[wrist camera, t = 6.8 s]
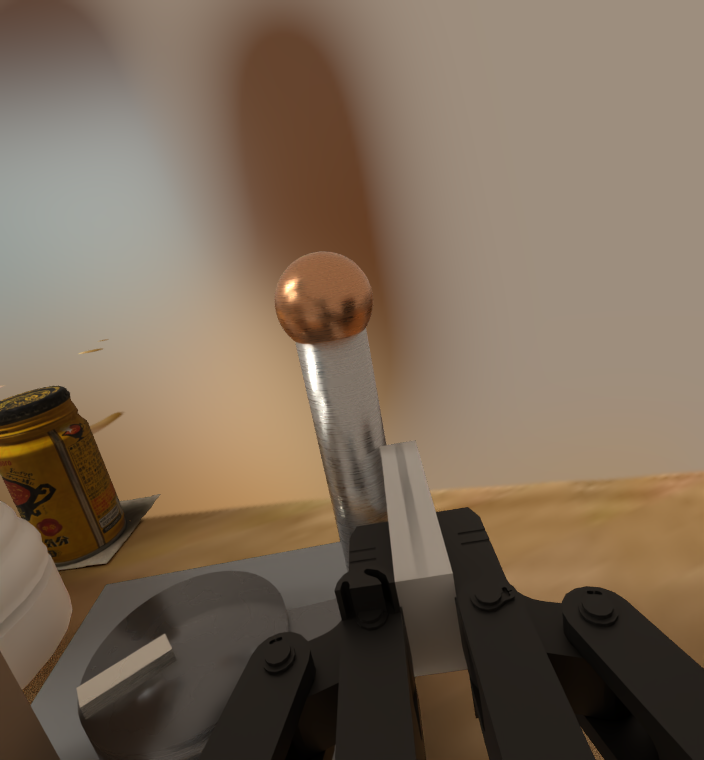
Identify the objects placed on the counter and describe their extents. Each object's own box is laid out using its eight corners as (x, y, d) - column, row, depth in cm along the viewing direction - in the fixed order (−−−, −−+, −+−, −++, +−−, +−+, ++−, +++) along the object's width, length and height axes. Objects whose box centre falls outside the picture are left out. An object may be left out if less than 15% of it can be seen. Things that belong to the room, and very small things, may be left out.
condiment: (13, 576, 33) (-64, 424, 29) (85, 507, 41) (31, 380, 37) (107, 566, 32) (40, 408, 28) (162, 497, 40) (115, 366, 36)
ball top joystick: (137, 924, 13) (-183, 366, 8) (87, 688, 20) (-90, 329, 15) (445, 640, 19) (384, 239, 14) (321, 542, 27) (252, 257, 22)
